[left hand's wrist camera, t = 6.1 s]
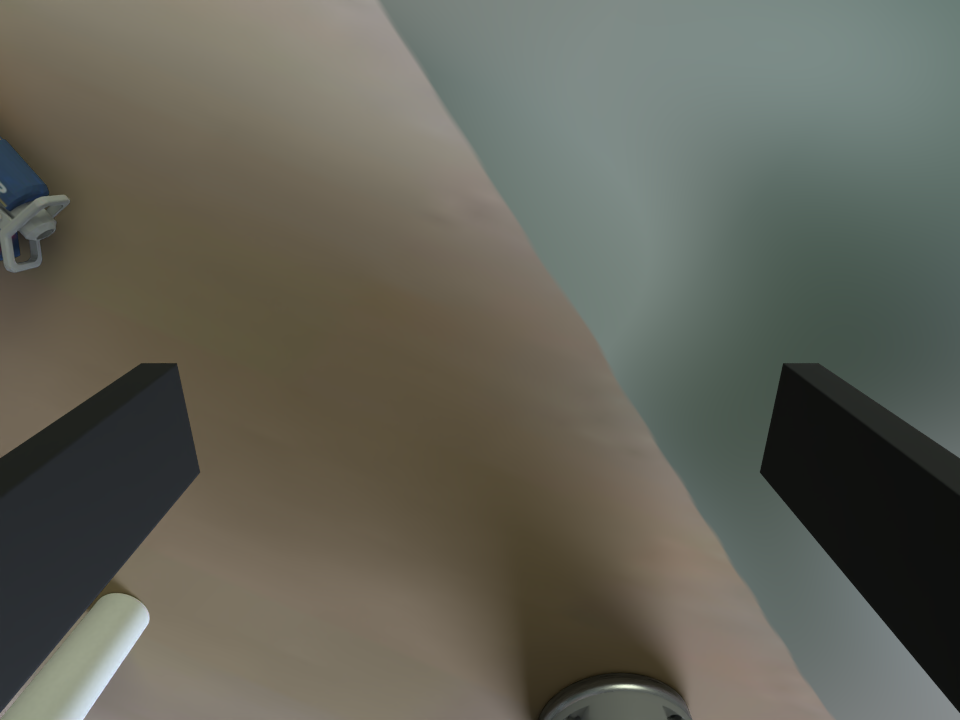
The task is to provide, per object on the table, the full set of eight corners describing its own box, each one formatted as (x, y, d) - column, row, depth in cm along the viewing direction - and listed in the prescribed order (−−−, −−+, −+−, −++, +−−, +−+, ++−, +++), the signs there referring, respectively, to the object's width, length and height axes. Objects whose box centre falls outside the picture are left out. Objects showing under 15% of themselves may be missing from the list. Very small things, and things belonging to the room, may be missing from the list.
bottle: (125, 585, 50) (-69, 830, 32) (160, 621, 52) (-6, 874, 34) (84, 605, 51) (-127, 854, 33) (120, 639, 52) (-63, 896, 35)
